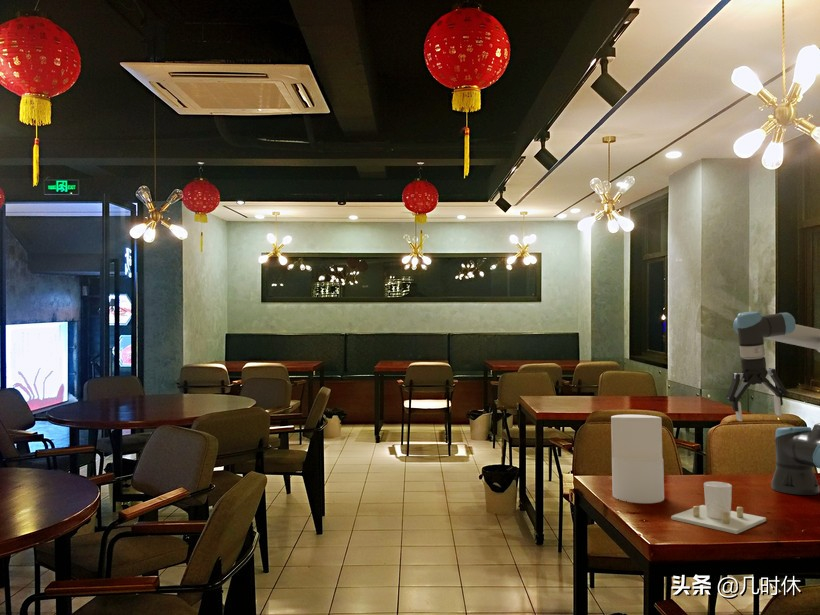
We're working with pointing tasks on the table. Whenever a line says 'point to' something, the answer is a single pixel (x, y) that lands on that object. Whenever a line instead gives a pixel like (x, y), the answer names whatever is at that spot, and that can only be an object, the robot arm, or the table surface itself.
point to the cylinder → (637, 458)
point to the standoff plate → (731, 525)
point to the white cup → (717, 499)
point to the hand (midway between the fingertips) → (758, 417)
